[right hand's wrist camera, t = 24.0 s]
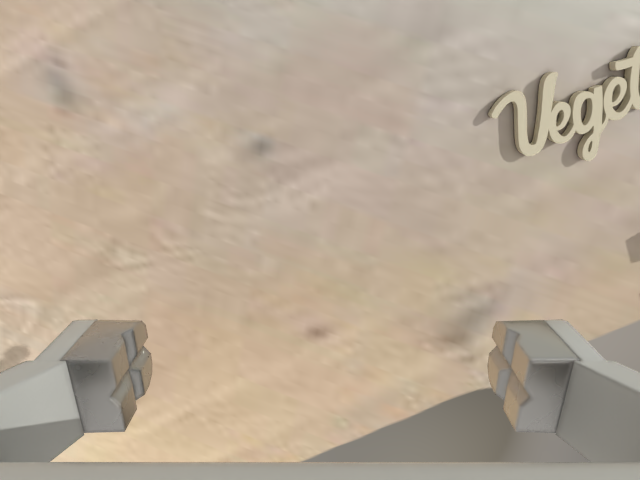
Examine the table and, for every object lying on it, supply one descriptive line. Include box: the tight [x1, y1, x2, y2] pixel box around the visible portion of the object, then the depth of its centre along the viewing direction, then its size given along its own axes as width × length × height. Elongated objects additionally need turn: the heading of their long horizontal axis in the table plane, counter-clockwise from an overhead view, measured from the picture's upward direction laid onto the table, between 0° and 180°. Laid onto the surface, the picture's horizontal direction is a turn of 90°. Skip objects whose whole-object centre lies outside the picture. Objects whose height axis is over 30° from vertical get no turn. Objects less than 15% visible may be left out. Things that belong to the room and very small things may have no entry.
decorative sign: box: [488, 46, 640, 161], centre depth 43 cm, size 26×1×10 cm
